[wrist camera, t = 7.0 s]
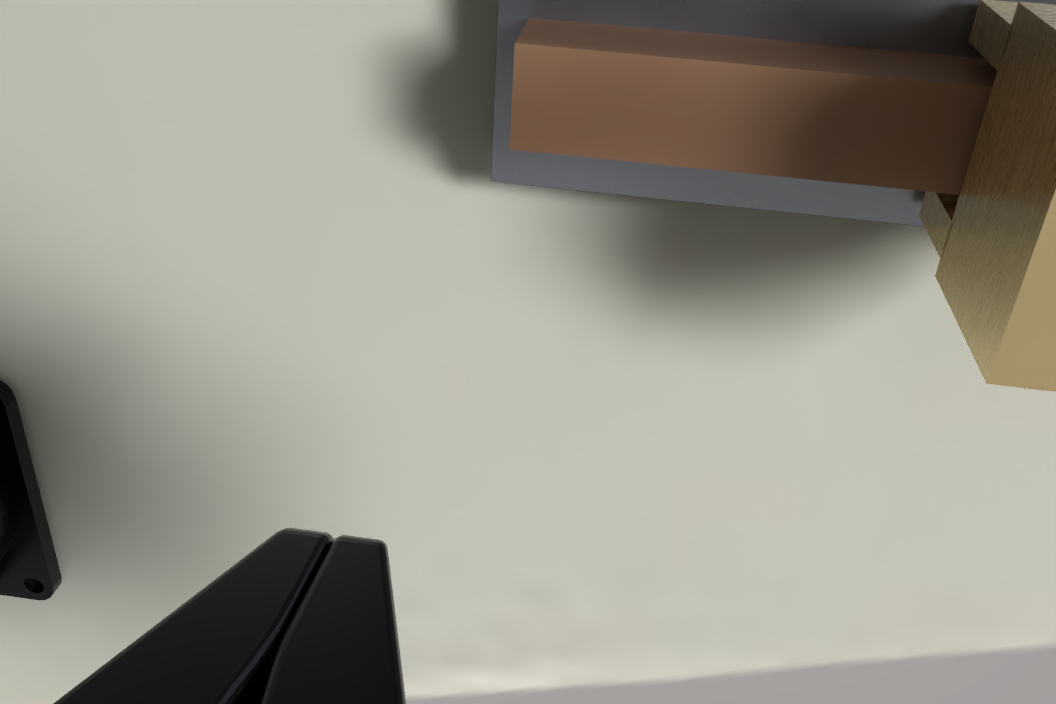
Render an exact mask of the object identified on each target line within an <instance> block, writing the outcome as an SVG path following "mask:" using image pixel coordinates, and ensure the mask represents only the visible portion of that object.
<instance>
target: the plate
mask: <svg viewBox="0 0 1056 704" xmlns="http://www.w3.org/2000/svg"><path fill="white" fill-rule="evenodd" d="M979 1H980V0H498V22H497V47H496V72H495V97H494V123H493V148H492V173H491V181H492V182H502V183H512V184H521V185H531V186H541V187H550V188H560V189H569V190H579V191H589V192H598V193H608V194H618V195H627V196H637V197H647V198H656V199H666V200H676V201H685V202H695V203H705V204H714V205H724V206H734V207H743V208H753V209H763V210H772V211H782V212H792V213H801V214H811V215H821V216H830V217H840V218H850V219H859V220H869V221H879V222H888V223H898V224H908V225H917V226H924V224H923V222H922V221H921V219H920V217H919V213H920V210H921V206H922V203H923V199H924V196H925V192H926V191H917V190H907V189H897V188H887V187H877V186H867V185H857V184H847V183H838V182H828V181H818V180H808V179H798V178H788V177H778V176H768V175H758V174H748V173H738V172H728V171H718V170H709V169H699V168H689V167H679V166H669V165H659V164H649V163H639V162H629V161H619V160H609V159H599V158H589V157H579V156H570V155H560V154H550V153H540V152H530V151H520V150H510V130H511V110H512V90H513V69H514V49H515V42H516V40H517V38H518V37H519V35H520V33H521V31H522V29H523V28H524V26H525V24H526V22H527V21H528V19H529V18H539V19H550V20H562V21H573V22H584V23H595V24H606V25H617V26H629V27H640V28H651V29H662V30H673V31H684V32H695V33H707V34H718V35H729V36H740V37H751V38H762V39H773V40H785V41H796V42H807V43H818V44H829V45H840V46H851V47H863V48H874V49H885V50H896V51H907V52H918V53H929V54H941V55H952V56H963V57H974V58H984V57H983V56H982V55H981V54H980V53H979V52H978V50H977V49H976V48H975V47H974V46H973V45H972V44H971V43H970V42H969V41H968V40H969V37H970V33H971V30H972V26H973V23H974V19H975V15H976V12H977V8H978V5H979ZM997 1H1009V2H1029V3H1041V4H1053V5H1056V0H997Z"/></svg>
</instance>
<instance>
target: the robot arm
mask: <svg viewBox="0 0 1056 704" xmlns="http://www.w3.org/2000/svg"><path fill="white" fill-rule="evenodd" d="M60 584H61V573H60V570H59V566H58V562H57V558H56V554H55V550H54V546H53V542H52V538H51V534H50V530H49V526H48V523H47V519H46V515H45V511H44V507H43V503H42V499H41V495H40V491H39V487H38V483H37V480H36V476H35V472H34V468H33V464H32V460H31V456H30V452H29V448H28V444H27V440H26V437H25V433H24V429H23V425H22V421H21V417H20V413H19V409H18V405H17V401H16V398H15V396H14V393H13V391H12V390H11V389H10V388H9V387H8V386H7V385H6V384H5V383H3V382H2V381H0V595H7V596H14V597H21V598H28V599H35V600H46V599H48V598H50V597H51V596H52V595H53V593H54V592H55V591H56V589H57V588H58V587H59V585H60ZM54 704H406V700H405V691H404V683H403V675H402V666H401V658H400V649H399V641H398V633H397V624H396V616H395V607H394V599H393V591H392V582H391V574H390V565H389V557H388V550H387V546H386V544H385V543H384V542H383V541H381V540H377V539H369V538H362V537H355V536H347V535H341V536H339V537H337V538H336V539H335V540H334V538H333V537H332V536H331V535H330V534H328V533H325V532H318V531H310V530H303V529H295V528H285V529H283V530H280V531H278V532H277V533H275V534H274V535H273V536H271V537H270V538H269V539H268V540H266V541H265V542H264V543H262V544H261V545H260V546H258V547H257V548H256V549H254V550H253V551H252V552H251V553H249V554H248V555H247V556H245V557H244V558H243V559H241V560H240V561H239V562H238V563H236V564H235V565H234V566H232V567H231V568H230V569H228V570H227V571H226V572H224V573H223V574H222V575H221V576H219V577H218V578H217V579H215V580H214V581H213V582H211V583H210V584H209V585H208V586H206V587H205V588H204V589H202V590H201V591H200V592H198V593H197V594H196V595H195V596H193V597H192V598H191V599H189V600H188V601H187V602H185V603H184V604H183V605H181V606H180V607H179V608H178V609H176V610H175V611H174V612H172V613H171V614H170V615H168V616H167V617H166V618H165V619H163V620H162V621H161V622H159V623H158V624H157V625H155V626H154V627H153V628H151V629H150V630H149V631H148V632H146V633H145V634H144V635H142V636H141V637H140V638H138V639H137V640H136V641H135V642H133V643H132V644H131V645H129V646H128V647H127V648H125V649H124V650H123V651H121V652H120V653H119V654H118V655H116V656H115V657H114V658H112V659H111V660H110V661H108V662H107V663H106V664H105V665H103V666H102V667H101V668H99V669H98V670H97V671H95V672H94V673H93V674H91V675H90V676H89V677H88V678H86V679H85V680H84V681H82V682H81V683H80V684H78V685H77V686H76V687H75V688H73V689H72V690H71V691H69V692H68V693H67V694H65V695H64V696H63V697H61V698H60V699H59V700H58V701H56V702H55V703H54Z"/></svg>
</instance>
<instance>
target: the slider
mask: <svg viewBox="0 0 1056 704" xmlns="http://www.w3.org/2000/svg"><path fill="white" fill-rule="evenodd" d="M968 41H969V42H970V43H971V44H972V45H973V46H974V47H975V48H976V49H977V50H978V52H979V53H980V54H981V55H982V56H983V57H984V58H985V59H986V60H987V61H988V62H989V63H990V64H991V65H992V66H993V67H994V68H995V69H996V70H997V73H996V76H995V80H994V83H993V86H992V90H991V93H990V96H989V99H988V103H987V106H986V109H985V113H984V116H983V119H982V123H981V126H980V129H979V133H978V136H977V139H976V142H975V146H974V149H973V152H972V156H971V159H970V162H969V166H968V169H967V172H966V175H965V179H964V182H963V185H962V189H961V192H960V195H957V194H947V193H937V192H927V191H926V192H925V196H924V199H923V203H922V206H921V210H920V213H919V217H920V219H921V221H922V222H923V224H924V226H925V228H926V230H927V232H928V234H929V236H930V238H931V240H932V242H933V244H934V246H935V248H936V250H937V252H938V254H939V256H940V261H939V265H938V268H937V271H936V275H935V277H936V279H937V281H938V283H939V285H940V287H941V289H942V291H943V294H944V296H945V298H946V300H947V302H948V304H949V306H950V308H951V310H952V312H953V314H954V317H955V319H956V321H957V323H958V325H959V327H960V329H961V331H962V333H963V335H964V337H965V340H966V342H967V344H968V346H969V348H970V350H971V352H972V354H973V356H974V358H975V360H976V362H977V365H978V367H979V369H980V371H981V373H982V375H983V377H984V379H985V381H986V383H987V384H995V385H1004V386H1012V387H1021V388H1030V389H1038V390H1047V391H1056V5H1053V4H1041V3H1029V2H1009V1H997V0H980V1H979V5H978V8H977V12H976V15H975V19H974V23H973V26H972V30H971V33H970V37H969V40H968Z"/></svg>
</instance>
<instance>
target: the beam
mask: <svg viewBox="0 0 1056 704" xmlns="http://www.w3.org/2000/svg"><path fill="white" fill-rule="evenodd" d="M996 73H997V70H996V69H995V68H994V67H993V66H992V65H991V64H990V63H989V62H988V61H987V60H986V59H985V58H974V57H963V56H952V55H941V54H929V53H918V52H907V51H896V50H885V49H874V48H863V47H851V46H840V45H829V44H818V43H807V42H796V41H785V40H773V39H762V38H751V37H740V36H729V35H718V34H707V33H695V32H684V31H673V30H662V29H651V28H640V27H629V26H617V25H606V24H595V23H584V22H573V21H562V20H550V19H539V18H529V19H528V21H527V22H526V24H525V26H524V28H523V29H522V31H521V33H520V35H519V37H518V38H517V40H516V42H515V49H514V69H513V90H512V110H511V130H510V150H520V151H530V152H540V153H550V154H560V155H570V156H579V157H589V158H599V159H609V160H619V161H629V162H639V163H649V164H659V165H669V166H679V167H689V168H699V169H709V170H718V171H728V172H738V173H748V174H758V175H768V176H778V177H788V178H798V179H808V180H818V181H828V182H838V183H847V184H857V185H867V186H877V187H887V188H897V189H907V190H917V191H927V192H937V193H947V194H957V195H960V192H961V189H962V185H963V182H964V179H965V175H966V172H967V169H968V166H969V162H970V159H971V156H972V152H973V149H974V146H975V142H976V139H977V136H978V133H979V129H980V126H981V123H982V119H983V116H984V113H985V109H986V106H987V103H988V99H989V96H990V93H991V90H992V86H993V83H994V80H995V76H996Z"/></svg>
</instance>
